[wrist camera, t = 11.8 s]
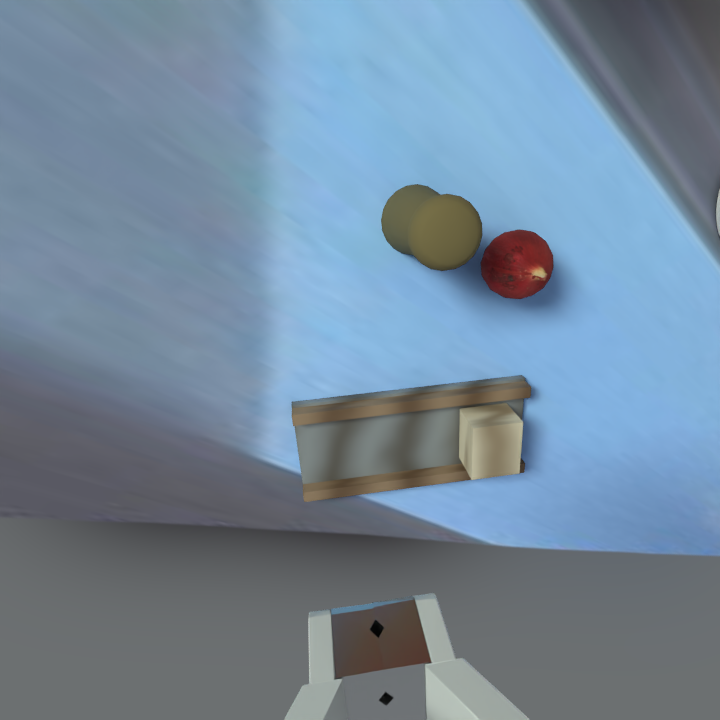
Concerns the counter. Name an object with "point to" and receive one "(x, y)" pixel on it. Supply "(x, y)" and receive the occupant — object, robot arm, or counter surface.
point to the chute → (391, 436)
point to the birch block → (490, 441)
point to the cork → (432, 227)
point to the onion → (517, 264)
